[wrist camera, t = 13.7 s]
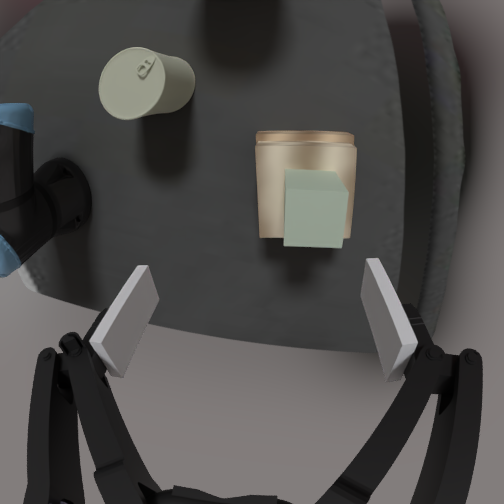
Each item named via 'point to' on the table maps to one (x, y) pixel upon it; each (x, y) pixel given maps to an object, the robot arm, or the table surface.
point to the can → (145, 84)
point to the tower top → (298, 157)
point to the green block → (314, 208)
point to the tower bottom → (305, 136)
